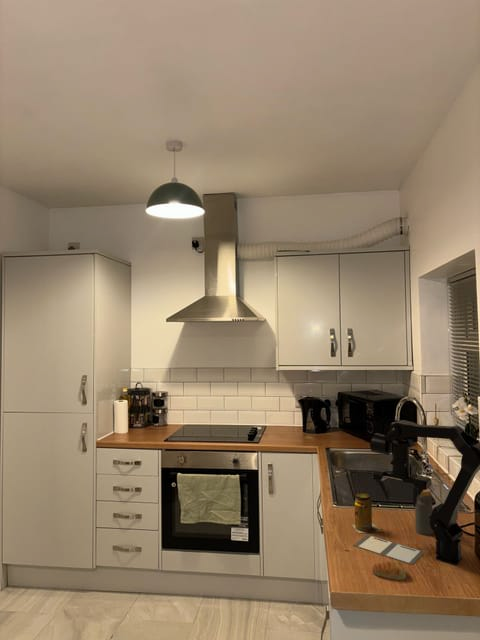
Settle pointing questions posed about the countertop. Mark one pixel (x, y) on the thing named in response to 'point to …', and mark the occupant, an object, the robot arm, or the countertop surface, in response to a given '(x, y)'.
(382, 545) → the mat
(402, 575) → the pastry
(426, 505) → the bottle
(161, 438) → the countertop surface
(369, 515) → the condiment
